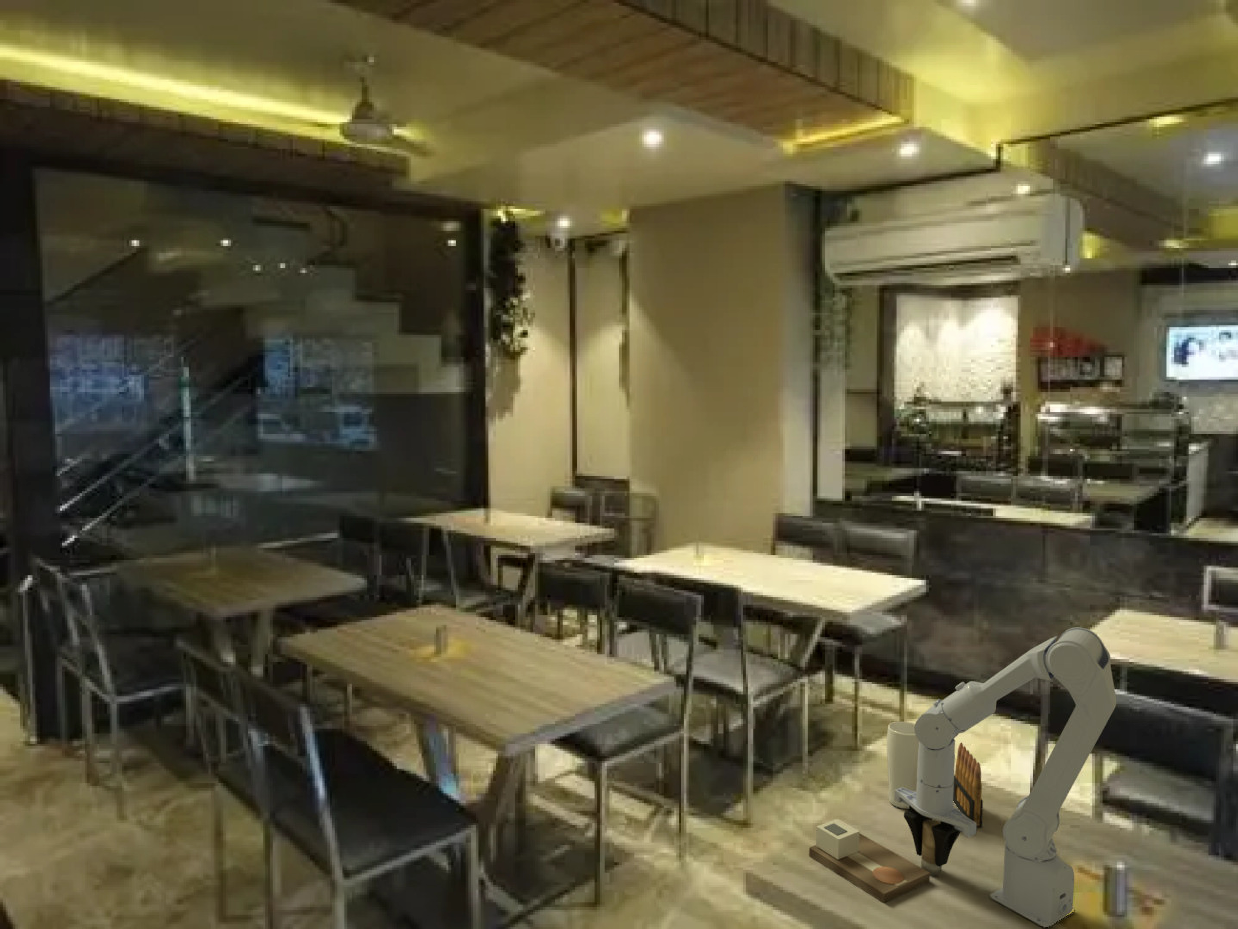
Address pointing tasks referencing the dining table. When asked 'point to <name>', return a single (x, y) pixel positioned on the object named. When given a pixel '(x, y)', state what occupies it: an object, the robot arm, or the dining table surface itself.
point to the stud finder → (837, 838)
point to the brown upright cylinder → (929, 849)
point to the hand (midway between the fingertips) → (931, 858)
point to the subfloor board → (875, 869)
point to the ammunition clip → (968, 786)
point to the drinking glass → (902, 759)
